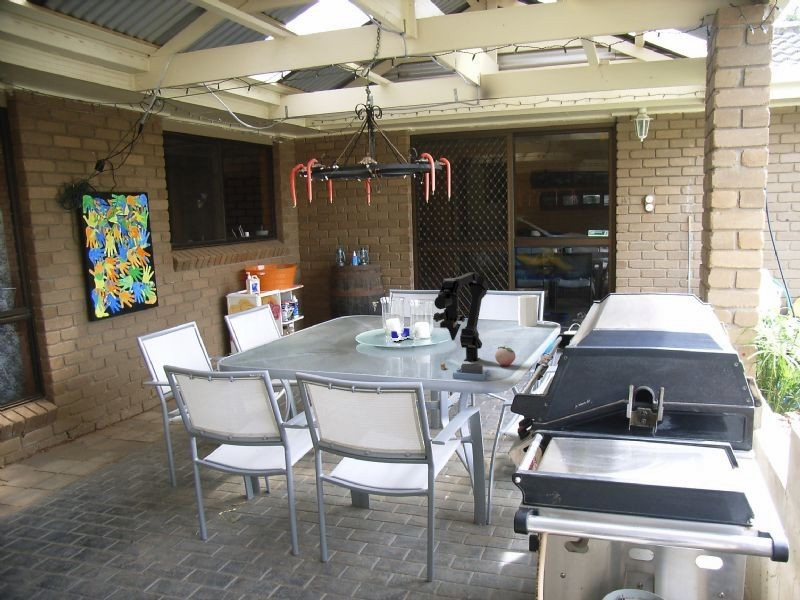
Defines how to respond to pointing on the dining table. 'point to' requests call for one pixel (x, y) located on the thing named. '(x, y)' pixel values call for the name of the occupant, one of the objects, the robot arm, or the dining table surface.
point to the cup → (527, 310)
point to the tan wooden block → (442, 366)
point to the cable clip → (404, 334)
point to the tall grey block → (472, 368)
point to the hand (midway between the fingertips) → (453, 340)
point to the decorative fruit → (505, 356)
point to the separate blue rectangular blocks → (469, 375)
